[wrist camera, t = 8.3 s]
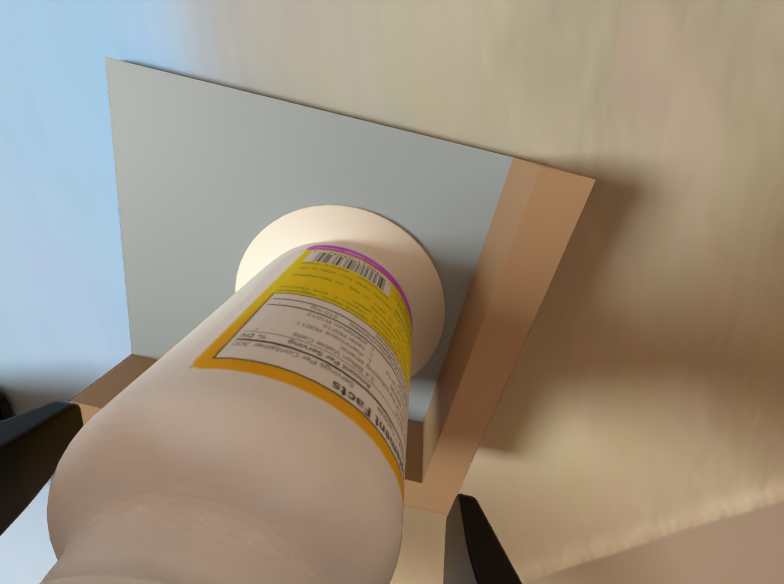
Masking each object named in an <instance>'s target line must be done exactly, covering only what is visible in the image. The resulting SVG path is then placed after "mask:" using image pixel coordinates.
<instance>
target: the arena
mask: <svg viewBox="0 0 784 584" xmlns="http://www.w3.org/2000/svg"><path fill="white" fill-rule="evenodd" d="M105 60H106V71H107V82H108V93H109V105H110V116H111V127H112V138H113V149H114V160H115V171H116V183H117V194H118V205H119V216H120V227H121V238H122V250H123V261H124V272H125V283H126V294H127V305H128V316H129V328H130V339H131V350H132V354H131V355H130V356H128V357H127V358H126V359H124V360H123V361H122V362H120V363H119V364H118V365H116V366H115V367H114V368H113V369H111V370H110V371H109V372H107V373H106V374H105V375H103V376H102V377H101V378H99V379H98V380H97V381H95V382H94V383H93V384H92V385H90V386H89V387H88V388H86V389H85V390H84V391H82V392H81V393H80V394H78V395H77V396H76V397H74V398H73V399H72V400H70V402H72V403H76V404H78V405H79V406H80V408H81V413H82V419H83V425H85V424H86V423H87V422H88V421H89V420H90V419H91V418H92V417H93V416H94V415H95V414H96V413H97V412H99V411H100V410H101V409H102V408H103V407H104V406H106V405H107V404H108V403H109V402H110V401H111V400H112V399H114V398H115V397H116V396H117V395H118V394H119V393H120V392H122V391H123V390H124V389H125V388H126V387H127V386H128V385H130V384H131V383H132V382H133V381H134V380H135V379H136V378H138V377H139V376H140V375H141V374H142V373H144V372H145V371H146V370H147V369H148V368H149V367H151V366H152V365H153V364H154V363H155V362H157V361H158V360H159V359H160V358H161V357H162V356H164V355H165V354H166V353H167V352H168V351H169V350H170V349H172V348H173V347H174V346H175V345H176V344H177V343H179V342H180V341H181V340H182V339H183V338H184V337H186V336H187V335H188V334H189V333H190V332H191V331H192V330H194V329H195V328H196V327H197V326H198V325H199V324H200V323H202V322H203V321H204V320H205V319H206V318H207V317H208V316H210V315H211V314H212V313H213V312H214V311H215V310H217V309H218V308H219V307H220V306H221V305H222V304H223V303H225V302H226V301H227V300H228V299H229V298H230V297H231V296H233V295H234V294H235V293H236V292H237V291H238V290H239V289H240V288H242V287H243V286H244V285H245V284H246V283H247V282H248V281H250V280H251V279H252V278H253V277H254V276H255V275H256V274H258V273H259V272H260V271H261V270H262V269H264V268H265V267H266V266H267V265H268V264H270V263H271V262H272V261H273V260H275V259H276V258H277V257H279V256H280V255H282V254H283V253H285V252H287V251H289V250H291V249H293V248H295V247H298V246H301V245H304V244H309V243H316V242H335V243H342V244H346V245H350V246H353V247H356V248H359V249H361V250H363V251H365V252H367V253H369V254H371V255H373V256H374V257H376V258H377V259H379V260H380V261H381V262H382V263H384V264H385V265H386V266H387V267H388V268H389V269H390V270H391V271H392V272H393V273H394V275H395V276H396V277H397V279H398V280H399V282H400V283H401V284H402V286H403V288H404V290H405V292H406V294H407V297H408V299H409V303H410V306H411V312H412V350H411V366H410V385H409V404H408V423H407V442H406V462H405V487H404V505H405V506H410V507H414V508H418V509H423V510H427V511H431V512H436V513H440V514H444V515H448V513H449V511H450V509H451V507H452V504H453V502H454V500H455V498H456V496H457V494H458V492H459V489H460V487H461V485H462V482H463V480H464V478H465V476H466V473H467V471H468V469H469V467H470V464H471V462H472V460H473V458H474V455H475V453H476V451H477V448H478V446H479V444H480V442H481V439H482V437H483V435H484V433H485V430H486V428H487V426H488V423H489V421H490V419H491V417H492V414H493V412H494V410H495V408H496V405H497V403H498V401H499V399H500V396H501V394H502V392H503V389H504V387H505V385H506V383H507V380H508V378H509V376H510V374H511V371H512V369H513V367H514V365H515V362H516V360H517V358H518V355H519V353H520V351H521V349H522V346H523V344H524V342H525V340H526V337H527V335H528V333H529V330H530V328H531V326H532V324H533V321H534V319H535V317H536V315H537V312H538V310H539V308H540V306H541V303H542V301H543V299H544V296H545V294H546V292H547V290H548V287H549V285H550V283H551V281H552V278H553V276H554V274H555V272H556V269H557V267H558V265H559V262H560V260H561V258H562V256H563V253H564V251H565V249H566V247H567V244H568V242H569V240H570V237H571V235H572V233H573V231H574V228H575V226H576V224H577V222H578V219H579V217H580V215H581V213H582V210H583V208H584V206H585V203H586V201H587V199H588V197H589V194H590V192H591V190H592V188H593V185H594V183H595V181H596V180H595V179H592V178H589V177H585V176H582V175H578V174H575V173H572V172H568V171H565V170H561V169H558V168H555V167H551V166H547V165H543V164H539V163H535V162H531V161H527V160H523V159H519V158H515V157H511V156H507V155H503V154H499V153H495V152H490V151H486V150H482V149H478V148H474V147H470V146H466V145H462V144H458V143H454V142H450V141H446V140H442V139H437V138H433V137H429V136H425V135H421V134H417V133H413V132H409V131H405V130H401V129H397V128H393V127H389V126H385V125H380V124H376V123H372V122H368V121H364V120H360V119H356V118H352V117H348V116H344V115H340V114H336V113H332V112H328V111H323V110H319V109H315V108H311V107H307V106H303V105H299V104H295V103H291V102H287V101H283V100H279V99H275V98H271V97H266V96H262V95H258V94H254V93H250V92H246V91H242V90H238V89H234V88H230V87H226V86H222V85H218V84H214V83H209V82H205V81H201V80H197V79H193V78H189V77H185V76H181V75H177V74H173V73H169V72H165V71H161V70H157V69H152V68H148V67H144V66H140V65H136V64H132V63H128V62H124V61H120V60H116V59H111V58H107V57H105Z"/></svg>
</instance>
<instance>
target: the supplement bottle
mask: <svg viewBox="0 0 784 584" xmlns="http://www.w3.org/2000/svg"><path fill="white" fill-rule="evenodd" d="M411 350H412V312H411V306H410V303H409V299H408V297H407V294H406V292H405V290H404V288H403V286H402V284H401V283H400V282H399V280H398V279H397V277H396V276H395V275H394V273H393V272H392V271H391V270H390V269H389V268H388V267H387V266H386V265H385V264H384V263H382V262H381V261H380V260H379V259H377V258H376V257H374V256H373V255H371V254H369V253H367V252H365V251H363V250H361V249H359V248H356V247H353V246H350V245H346V244H342V243H335V242H316V243H309V244H304V245H301V246H298V247H295V248H293V249H291V250H289V251H287V252H285V253H283V254H282V255H280V256H279V257H277V258H276V259H275V260H273V261H272V262H271V263H270V264H268V265H267V266H266V267H265V268H264V269H262V270H261V271H260V272H259V273H258V274H256V275H255V276H254V277H253V278H252V279H251V280H250V281H248V282H247V283H246V284H245V285H244V286H243V287H242V288H240V289H239V290H238V291H237V292H236V293H235V294H234V295H233V296H231V297H230V298H229V299H228V300H227V301H226V302H225V303H223V304H222V305H221V306H220V307H219V308H218V309H217V310H215V311H214V312H213V313H212V314H211V315H210V316H208V317H207V318H206V319H205V320H204V321H203V322H202V323H200V324H199V325H198V326H197V327H196V328H195V329H194V330H192V331H191V332H190V333H189V334H188V335H187V336H186V337H184V338H183V339H182V340H181V341H180V342H179V343H177V344H176V345H175V346H174V347H173V348H172V349H170V350H169V351H168V352H167V353H166V354H165V355H164V356H162V357H161V358H160V359H159V360H158V361H157V362H155V363H154V364H153V365H152V366H151V367H149V368H148V369H147V370H146V371H145V372H144V373H142V374H141V375H140V376H139V377H138V378H136V379H135V380H134V381H133V382H132V383H131V384H130V385H128V386H127V387H126V388H125V389H124V390H123V391H122V392H120V393H119V394H118V395H117V396H116V397H115V398H114V399H112V400H111V401H110V402H109V403H108V404H107V405H106V406H104V407H103V408H102V409H101V410H100V411H99V412H97V413H96V414H95V415H94V416H93V417H92V418H91V419H90V420H89V421H88V422H87V423H86V424H85V425H84V426H83V427H82V428H81V430H80V431H79V432H78V433H77V434H76V436H75V437H74V438H73V440H72V441H71V442H70V444H69V445H68V447H67V449H66V450H65V452H64V454H63V455H62V457H61V459H60V461H59V463H58V465H57V468H56V471H55V473H54V476H53V479H52V482H51V486H50V490H49V496H48V505H47V522H48V529H49V535H50V540H51V543H52V546H53V549H54V552H55V555H56V557H57V559H58V561H57V562H56V564H55V565H54V566H53V567H52V569H51V570H50V571H49V572H48V574H47V575H46V576H45V578H44V579H43V580H42V582H41V583H40V584H390V581H391V579H392V576H393V574H394V571H395V568H396V564H397V560H398V557H399V553H400V547H401V539H402V520H403V505H404V487H405V462H406V442H407V423H408V404H409V385H410V366H411Z"/></svg>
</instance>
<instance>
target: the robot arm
mask: <svg viewBox="0 0 784 584" xmlns="http://www.w3.org/2000/svg"><path fill="white" fill-rule="evenodd" d="M83 426H84V425H83V419H82V413H81V408H80V406H79V405H78V404H76V403H72V402H68V401H63V400H59V401H55V402H52V403H49V404H46V405H44V406H41V407H38V408H36V409H33V410H30V411H28V412H25V413H22V414H20V415H17V416H14V417H12V415H11V412H10V408H9V405H8V402H7V400H6V398H5V397H4V396H2V395H1V394H0V536H1V535H2V534H3V533H4V531H5V530H6V529H7V528H8V527H9V526H10V525H11V524H12V523H13V522H14V521H15V520H16V518H17V517H18V516H19V515H20V514H21V513H22V512H23V511H24V510H25V508H26V507H27V506H28V505H29V504H30V503H31V501H32V500H33V499H34V498H35V497H36V495H37V494H38V493H39V492H40V490H41V489H42V488H43V487H44V485H45V484H46V483H47V482H48V480H49V479H50V478H51V477H52V475H53V474H54V473H55V471H56V468H57V465H58V463H59V461H60V459H61V457H62V455H63V454H64V452H65V450H66V449H67V447H68V445H69V444H70V442H71V441H72V440H73V438H74V437H75V436H76V434H77V433H78V432H79V431H80V430H81V428H82V427H83ZM443 584H522V582H521V581H520V579H519V577H518V575H517V573H516V571H515V570H514V568H513V566H512V564H511V562H510V560H509V559H508V557H507V555H506V553H505V551H504V549H503V547H502V546H501V544H500V542H499V540H498V538H497V536H496V535H495V533H494V531H493V529H492V527H491V525H490V523H489V522H488V520H487V518H486V516H485V514H484V512H483V511H482V509H481V507H480V505H479V503H478V501H477V500H476V499H475V498H474V497H472V496H468V495H464V494H458V495H457V496H456V498H455V500H454V502H453V504H452V507H451V509H450V511H449V513H448V516H447V520H446V534H445V557H444V580H443Z"/></svg>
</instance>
